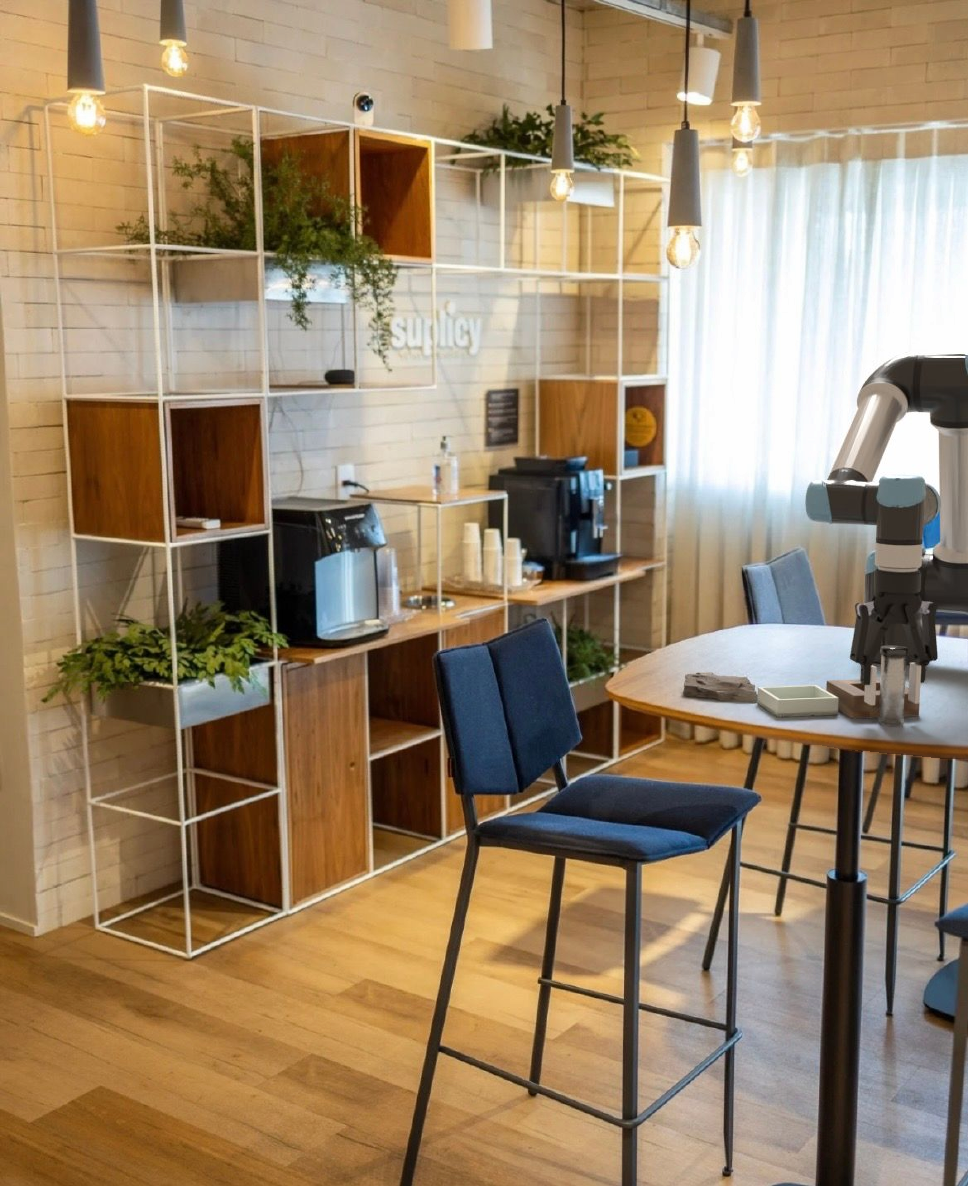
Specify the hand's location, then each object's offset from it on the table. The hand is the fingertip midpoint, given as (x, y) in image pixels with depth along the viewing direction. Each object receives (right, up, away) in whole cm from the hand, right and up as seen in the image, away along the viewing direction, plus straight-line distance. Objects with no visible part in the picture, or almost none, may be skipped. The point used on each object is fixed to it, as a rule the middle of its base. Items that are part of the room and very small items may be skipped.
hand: (891, 702), depth 232 cm
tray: (-14, -2, +11) cm, 17 cm away
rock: (-25, -1, +22) cm, 33 cm away
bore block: (-1, -2, +10) cm, 11 cm away
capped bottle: (0, -4, +1) cm, 4 cm away
